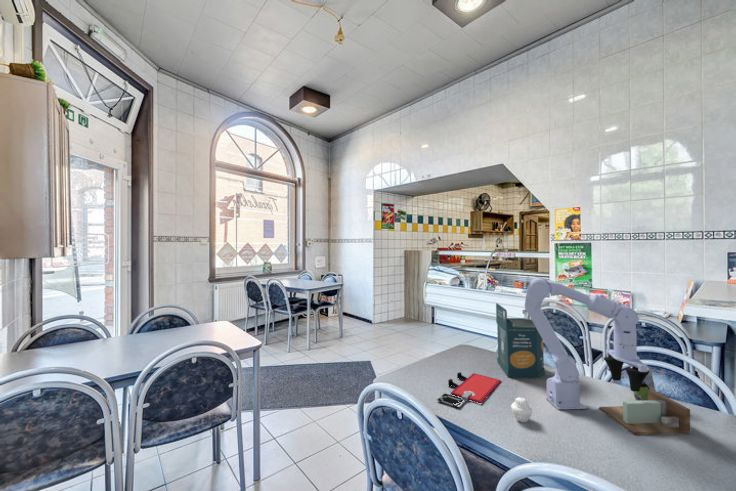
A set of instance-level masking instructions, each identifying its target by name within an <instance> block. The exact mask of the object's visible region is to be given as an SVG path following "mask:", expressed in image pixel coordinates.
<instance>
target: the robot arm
mask: <svg viewBox="0 0 736 491" xmlns="http://www.w3.org/2000/svg"><path fill="white" fill-rule="evenodd" d="M549 294H550V296H551V297H553V296H555V297H556V296H563V297H565V298H568V299H570V300H573V301H576V302H579V303H581V304H584V305H585V307H586V309H587V310H589V311H591V312H593V313H596V314H598V315H600V316H602V317H605V318H607V319H613V348H607V349H605V355H606V356H605V357H603V360H604V361H605V363H606V365H607V367H608V369H609V372H610V375H611V379H612V381H621V380H622V370H623V366H624V364H627V365H629V366H630V367H631V366H632V368H630V367H624V368H625V369H624V370H625V372H626V374H627V376H628V379H629V380H628V381H629V388H630V391H631V392H633V391H640V388H641V385H642V382H643V380H644V379H645V377H646V376H647V375H648V374H649V371H648V368H649V367H648V365H647V364H645V363H644V362H642V361H641V360H640V359H641V358H640V357H639V356H637V353H638V352H637V351H638V350H637V347H638V346H637V324H638V323H639V321H640V317H639V315H638V313H637V312H636V311H635V310H634V309H633V308H632V307H630V306H629V305H627V304H625V303H622V302H621V301H620V300H619V301H618V300H617V301H614V300H612V299H609V298H608V297H607V298H606V295H604V294H602V293H600V294H596V293H594V294H591V295H589V294H586V293H584V292H582V291H579V290H576V289H574V288H572V287H569V286H568V285H565V284H562V283H560V282H557V281H554V280H551V279H546V278H544V277H540V276H538V277H537V276H536V277H534V278H532V279H531V280H530V282H529V283H528V285H527V287H526V294H525V301H524V309H525V310H526V313H527V314H528V316H529V319H531V320H532V321H533V323H534V325H535V327H536V328H537V330H538V332H539V334H540V336H541V337H542V339H543V344H545V346H546V348H547V349H548V351H549V353H550V355H551V357H552V359H553V362H554V365H555V366H556V372H554V376H552V377H549V378H547V379H546V381H545V382H546V383H545V384H546V396H545V399H546V400H547V401H548V402H549V403H551V405H552V406H554V407H555V408H556V409H557V410H586V409H587V406H585V405H584V404H583V403H581V391H580V390H581V388H580V371H579V369H578V367H577V363H576V359H574V358H573V357H572V356H571V355H570V354H568V352H567V350H566V349H565V347H564V345H563V344H562V343H561V341H560V339H559V337H558V335H557V334H556V332H555V330H554V329H553V327H552V325H551V323H550V322H549V320H548V318H547V317H546V314H545V313H544V311H543V309H542V308H541V307H542V303H543V302H544V300H545V298H547V297H548V295H549Z"/></svg>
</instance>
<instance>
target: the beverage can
mask: <svg viewBox="0 0 736 491" xmlns="http://www.w3.org/2000/svg"><path fill="white" fill-rule="evenodd" d="M629 368H632V366H630V367H629ZM648 371H649V374H648V375H647V376H646V377H645V379H644V380H643V382H642V385H641V388H640V391H632V392H633V396H634V400H635V401H648V390H654V391H656V386H655V382H654V376H653V373H652V371H651V370H650V369H649V367H648ZM656 392H657V391H656Z"/></svg>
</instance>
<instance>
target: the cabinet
mask: <svg viewBox="0 0 736 491" xmlns="http://www.w3.org/2000/svg"><path fill="white" fill-rule="evenodd" d="M649 400H656V401H657V400H662V401H665V402H666V417H661V423H632V424H627V423H626V422H625V421H623V405H622V406H619V405H618V406H616V405H615V406H598V409H599V411H601V412H602V413H603V414H605V415H607V416H608V417H609V418H610V419H612V420H613V421H615V422H616V424H617V423H618V424H619V425H620V426H622V427H623V428H624V429H626V430H627V431H628V432H629V433H631V434H633V435H634V436H638V435H639V436H642V435H644V436H645V435H648V436H649V435H684V434H685V435H686V434H690V435H691V409H690V408H688V407H686V406H684V405H682V404H680V403H679V402H676V401H675V400H673V399H671V398H669V397H668V396H665V395H663V394H661V393H659V392H658V391H654V390H648V401H649Z"/></svg>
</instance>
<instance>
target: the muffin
mask: <svg viewBox="0 0 736 491" xmlns="http://www.w3.org/2000/svg"><path fill="white" fill-rule="evenodd" d="M510 409H511V411H512V414H513V416H514V417H515V419H517V421H518V422H520V421H521V422H520V423H527V422H528V421H529V419H530V417H531V416H532V414H533V408H532V407H531V405H530V404H529V403H528V400H527V399H526V398H524V397H517V398H515V399H514V402H512V403H511V405H510Z"/></svg>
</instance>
